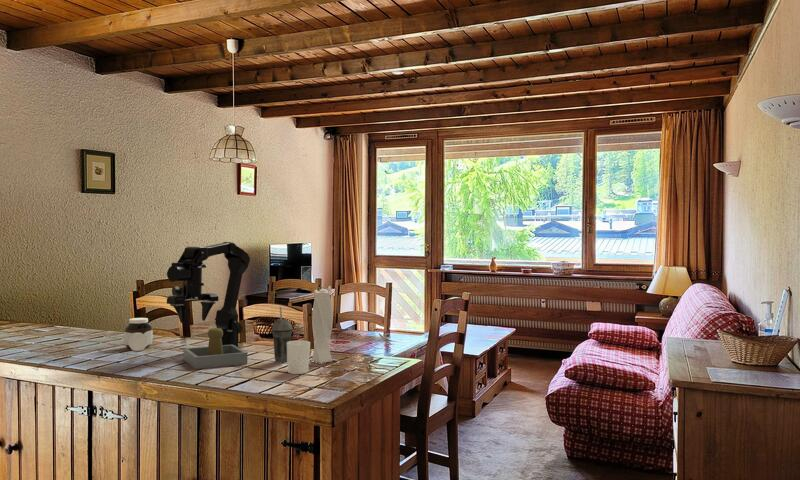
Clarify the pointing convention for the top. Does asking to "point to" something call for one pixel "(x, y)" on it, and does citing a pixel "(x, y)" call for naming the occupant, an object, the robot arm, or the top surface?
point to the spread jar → (138, 334)
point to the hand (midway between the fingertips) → (192, 321)
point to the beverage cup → (281, 338)
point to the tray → (215, 357)
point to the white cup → (298, 356)
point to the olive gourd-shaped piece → (215, 341)
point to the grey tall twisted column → (322, 325)
